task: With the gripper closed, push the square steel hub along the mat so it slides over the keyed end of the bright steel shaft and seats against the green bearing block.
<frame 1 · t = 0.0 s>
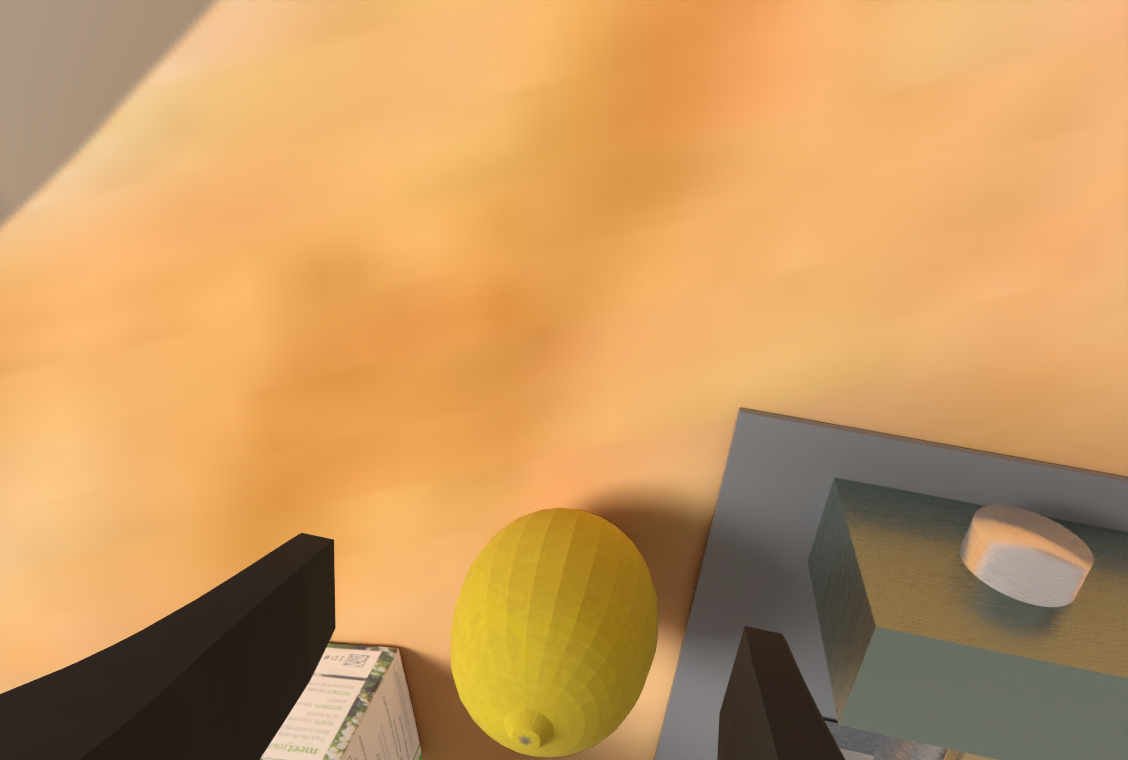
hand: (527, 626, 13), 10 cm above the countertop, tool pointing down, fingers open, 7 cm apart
lemon: (579, 530, 25), on the countertop
syrup box: (346, 689, 30), on the countertop
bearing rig: (896, 689, 25), resting on mat
mat: (896, 689, 25), on the countertop
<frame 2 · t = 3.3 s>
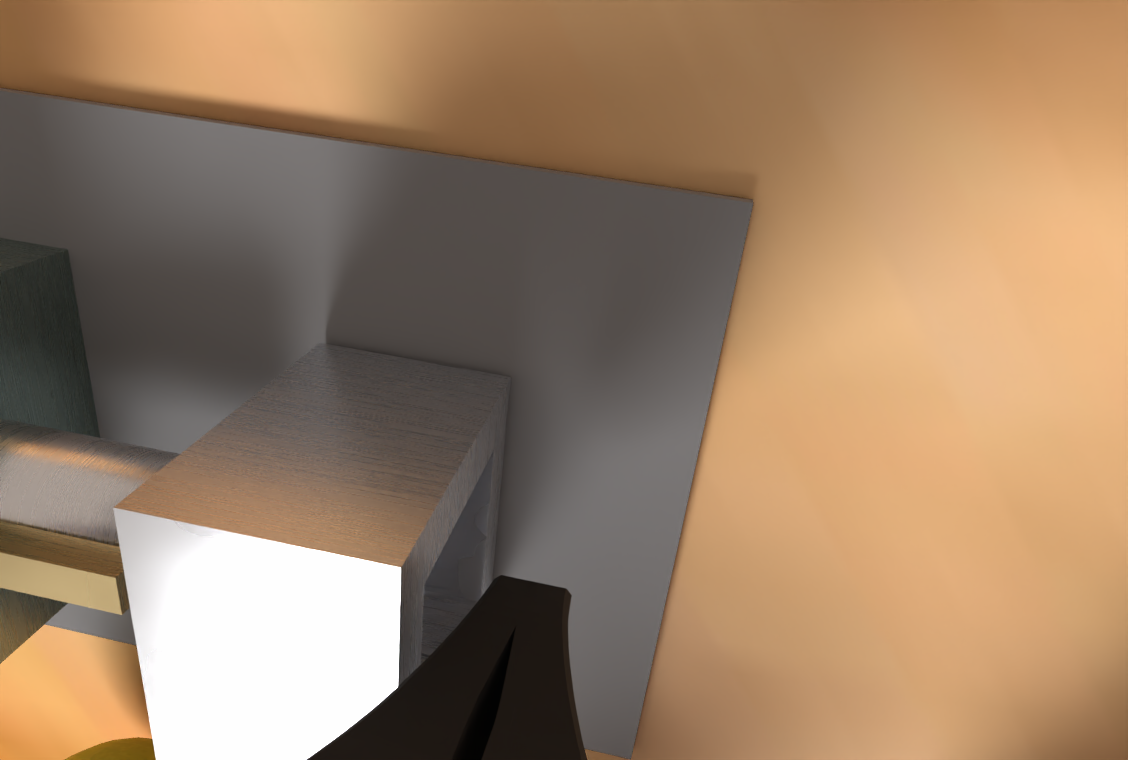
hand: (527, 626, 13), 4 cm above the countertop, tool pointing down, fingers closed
lemon: (194, 740, 23), on the countertop
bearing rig: (287, 447, 17), resting on mat
mat: (287, 447, 17), on the countertop
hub: (352, 572, 14), point 4 cm above the countertop, slide at 0.4 cm, touching gripper
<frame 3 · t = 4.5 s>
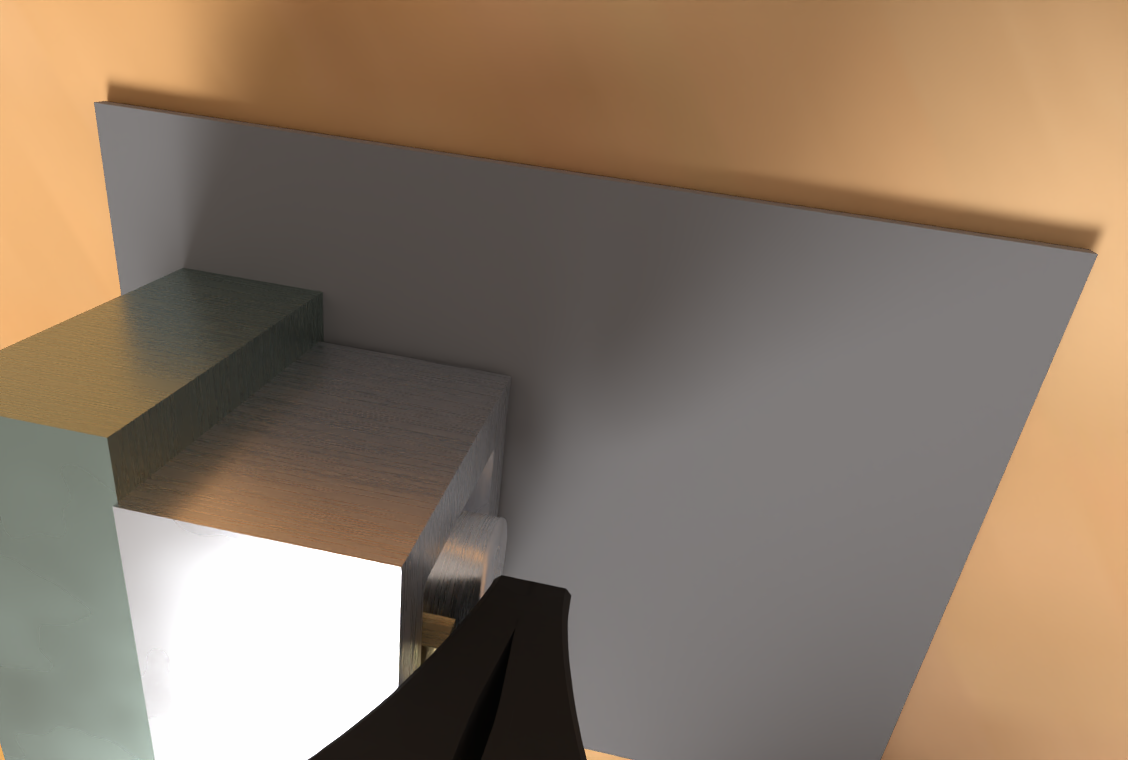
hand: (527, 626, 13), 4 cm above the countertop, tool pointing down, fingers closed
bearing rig: (526, 493, 17), resting on mat
mat: (526, 493, 17), on the countertop
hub: (351, 571, 14), point 3 cm above the countertop, slide at 6.0 cm, touching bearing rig, gripper
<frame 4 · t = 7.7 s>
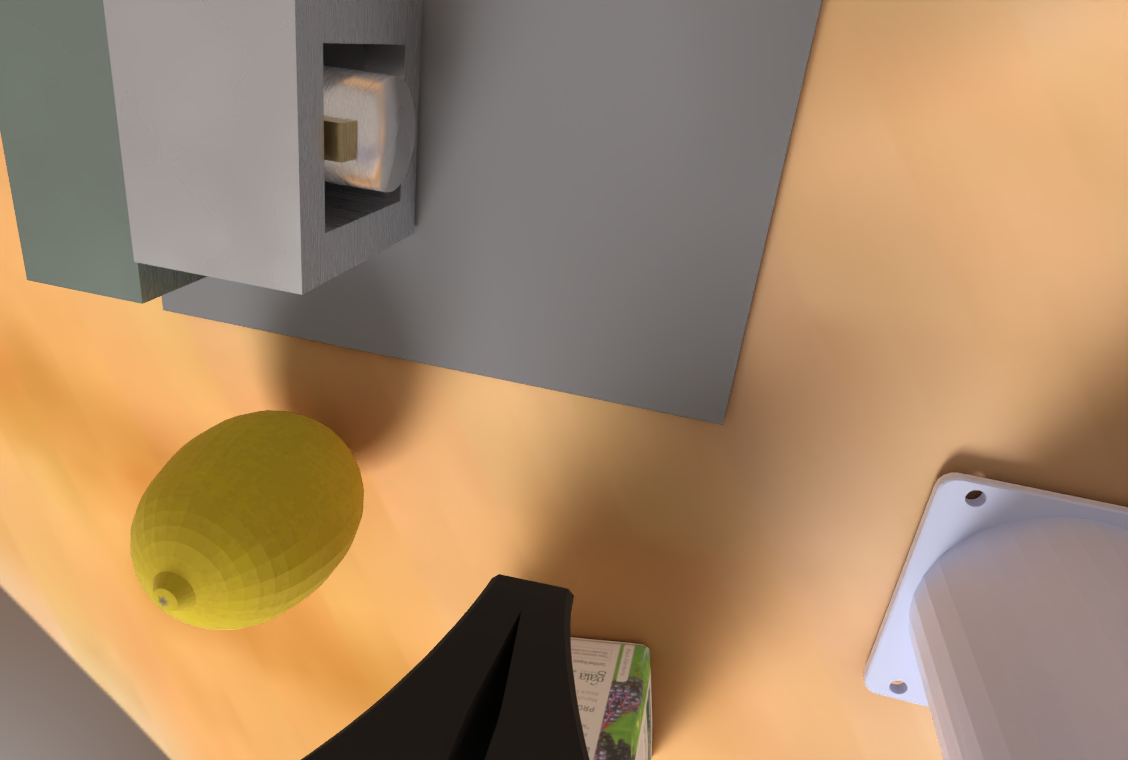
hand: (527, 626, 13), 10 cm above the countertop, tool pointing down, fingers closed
lemon: (329, 445, 26), on the countertop
syrup box: (573, 690, 28), on the countertop
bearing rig: (442, 123, 21), resting on mat
mat: (442, 123, 21), on the countertop
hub: (287, 120, 18), point 4 cm above the countertop, slide at 6.0 cm, touching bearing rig
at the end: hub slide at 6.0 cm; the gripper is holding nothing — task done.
